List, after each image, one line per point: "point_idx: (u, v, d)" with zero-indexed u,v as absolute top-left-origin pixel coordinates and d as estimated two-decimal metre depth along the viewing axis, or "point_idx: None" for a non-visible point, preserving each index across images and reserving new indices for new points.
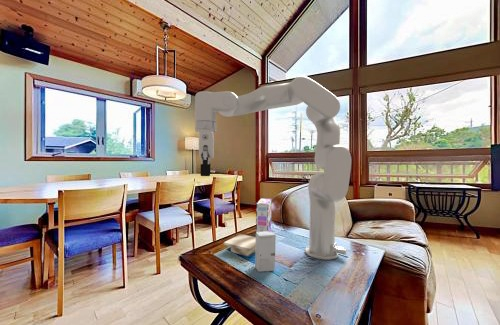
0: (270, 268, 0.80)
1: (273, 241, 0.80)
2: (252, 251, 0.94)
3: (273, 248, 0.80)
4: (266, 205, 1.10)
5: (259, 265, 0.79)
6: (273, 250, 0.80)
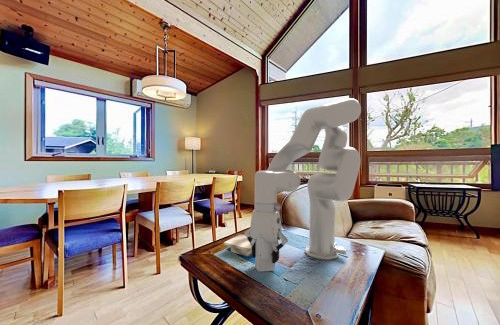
0: (270, 268, 0.80)
1: None
2: None
3: None
4: None
5: (259, 265, 0.79)
6: (273, 250, 0.80)
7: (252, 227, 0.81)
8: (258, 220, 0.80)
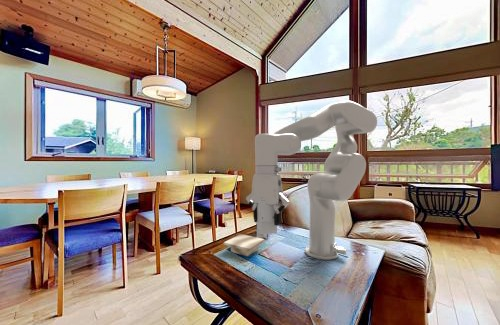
0: (272, 231, 0.80)
1: None
2: (252, 251, 0.94)
3: None
4: None
5: (261, 228, 0.79)
6: None
7: (253, 191, 0.81)
8: (259, 184, 0.80)
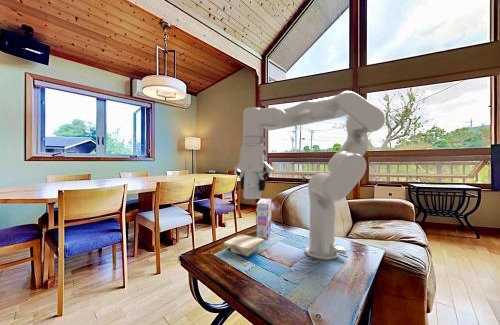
0: (257, 196, 0.88)
1: None
2: (252, 251, 0.94)
3: None
4: (266, 205, 1.10)
5: (247, 193, 0.87)
6: None
7: (241, 160, 0.89)
8: (246, 153, 0.88)
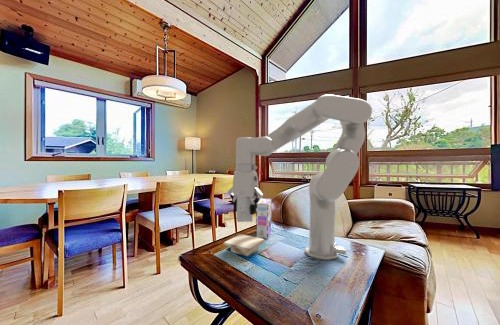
0: (248, 219, 0.94)
1: None
2: (252, 251, 0.94)
3: None
4: (266, 205, 1.10)
5: (239, 216, 0.94)
6: None
7: (234, 185, 0.96)
8: (238, 179, 0.94)
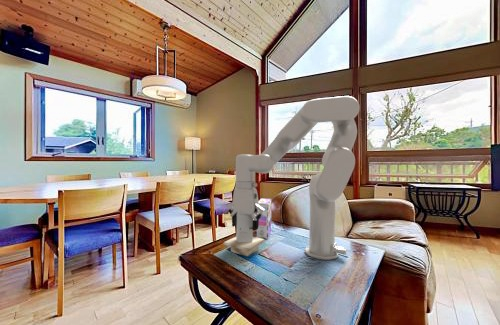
0: (248, 240, 0.95)
1: (251, 217, 0.95)
2: (252, 251, 0.94)
3: (251, 223, 0.95)
4: (266, 205, 1.10)
5: (239, 237, 0.94)
6: (251, 225, 0.95)
7: (234, 202, 0.96)
8: (238, 196, 0.95)
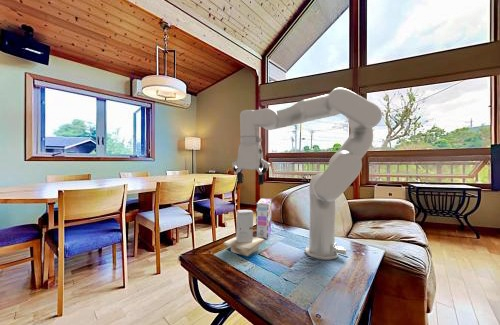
0: (248, 240, 0.95)
1: (251, 217, 0.95)
2: (252, 251, 0.94)
3: (251, 223, 0.95)
4: (266, 205, 1.10)
5: (239, 237, 0.94)
6: (251, 225, 0.95)
7: (239, 159, 0.97)
8: (243, 152, 0.95)
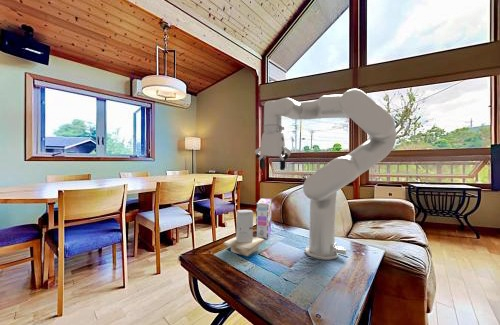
0: (248, 240, 0.95)
1: (251, 217, 0.95)
2: (252, 251, 0.94)
3: (251, 223, 0.95)
4: (266, 205, 1.10)
5: (239, 237, 0.94)
6: (251, 225, 0.95)
7: (262, 146, 1.05)
8: (267, 139, 1.03)
